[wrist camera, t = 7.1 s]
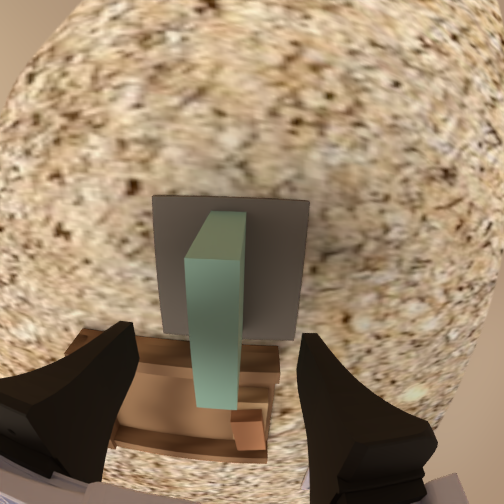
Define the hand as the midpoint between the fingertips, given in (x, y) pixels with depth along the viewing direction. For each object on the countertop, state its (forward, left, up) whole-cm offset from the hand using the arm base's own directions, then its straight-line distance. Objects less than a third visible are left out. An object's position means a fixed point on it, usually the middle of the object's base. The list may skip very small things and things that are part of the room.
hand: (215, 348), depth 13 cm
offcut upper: (-2, +12, -5) cm, 13 cm away
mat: (0, 0, -7) cm, 7 cm away
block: (0, 0, -7) cm, 7 cm away
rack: (+4, +11, -7) cm, 14 cm away
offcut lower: (-2, +11, -7) cm, 13 cm away
